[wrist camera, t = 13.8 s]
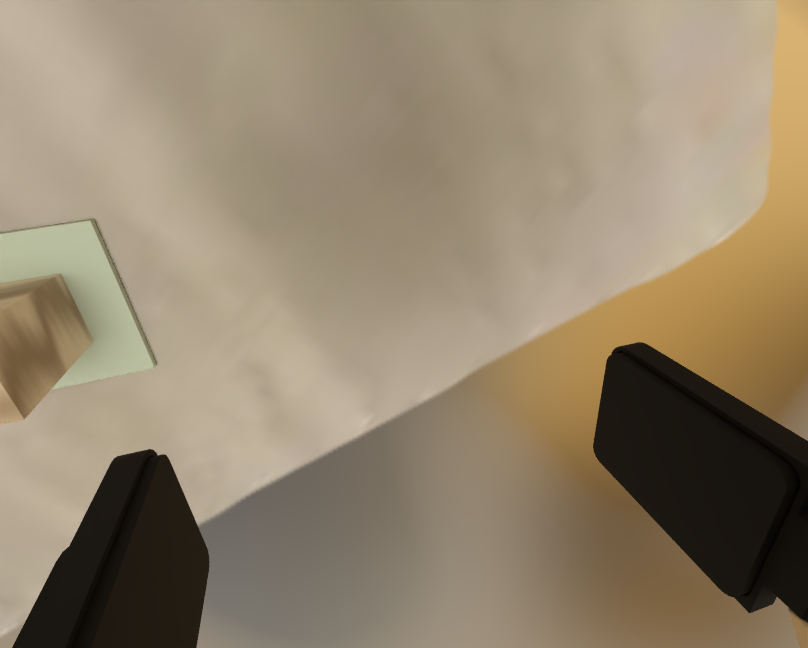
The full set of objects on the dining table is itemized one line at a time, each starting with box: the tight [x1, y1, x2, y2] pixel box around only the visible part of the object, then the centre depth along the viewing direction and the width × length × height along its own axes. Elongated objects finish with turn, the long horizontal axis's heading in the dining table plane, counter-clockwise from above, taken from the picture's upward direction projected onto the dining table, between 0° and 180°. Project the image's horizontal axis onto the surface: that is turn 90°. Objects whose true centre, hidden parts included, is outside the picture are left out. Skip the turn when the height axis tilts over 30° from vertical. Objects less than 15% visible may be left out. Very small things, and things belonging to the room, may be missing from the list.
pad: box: [0, 219, 156, 390], centre depth 31 cm, size 12×12×1 cm
